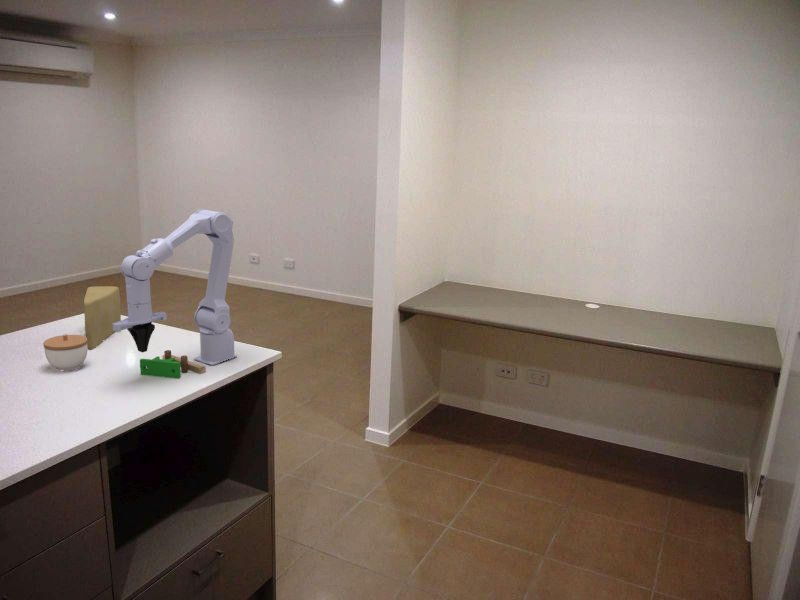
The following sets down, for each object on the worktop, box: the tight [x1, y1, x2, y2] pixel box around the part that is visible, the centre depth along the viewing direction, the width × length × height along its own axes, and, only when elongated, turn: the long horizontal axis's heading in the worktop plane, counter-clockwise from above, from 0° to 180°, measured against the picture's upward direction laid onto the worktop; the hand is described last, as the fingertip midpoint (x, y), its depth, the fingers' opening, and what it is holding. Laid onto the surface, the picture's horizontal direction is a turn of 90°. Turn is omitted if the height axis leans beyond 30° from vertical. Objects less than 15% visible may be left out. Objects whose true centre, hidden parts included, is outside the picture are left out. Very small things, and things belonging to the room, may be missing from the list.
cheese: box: [83, 285, 122, 350], centre depth 192 cm, size 22×10×15 cm, turn 13°
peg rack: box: [161, 349, 206, 375], centre depth 172 cm, size 4×16×4 cm, turn 58°
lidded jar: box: [42, 333, 89, 371], centre depth 168 cm, size 11×11×9 cm
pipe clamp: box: [139, 356, 182, 380], centre depth 167 cm, size 11×4×5 cm, turn 82°
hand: (142, 351), depth 161 cm, fingers closed
